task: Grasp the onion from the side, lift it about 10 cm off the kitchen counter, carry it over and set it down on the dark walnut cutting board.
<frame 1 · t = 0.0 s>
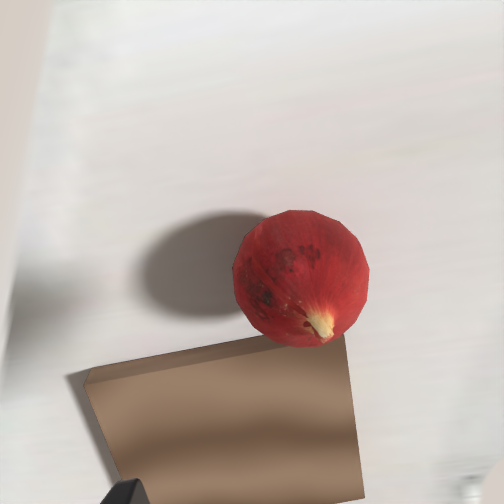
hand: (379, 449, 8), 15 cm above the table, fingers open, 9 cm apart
walnut board: (235, 427, 26), on the table
onion: (288, 246, 22), on the table
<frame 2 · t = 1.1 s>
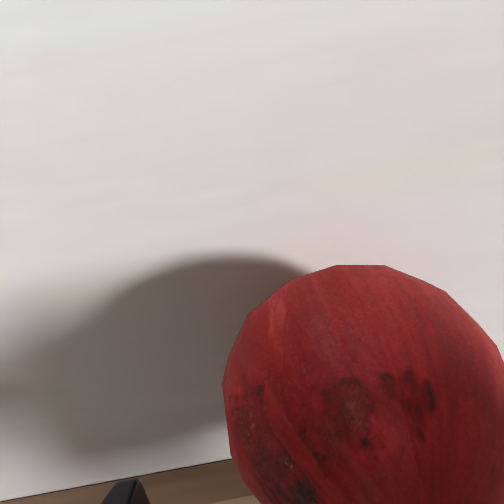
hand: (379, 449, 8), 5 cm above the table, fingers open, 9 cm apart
onion: (321, 311, 13), on the table
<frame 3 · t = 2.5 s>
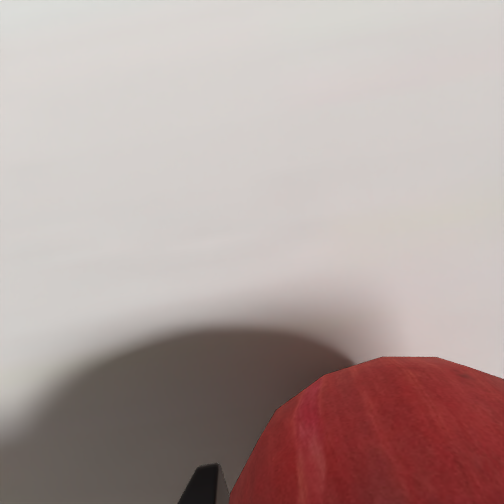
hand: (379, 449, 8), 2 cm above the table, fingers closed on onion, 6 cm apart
onion: (353, 390, 10), on the table, touching gripper
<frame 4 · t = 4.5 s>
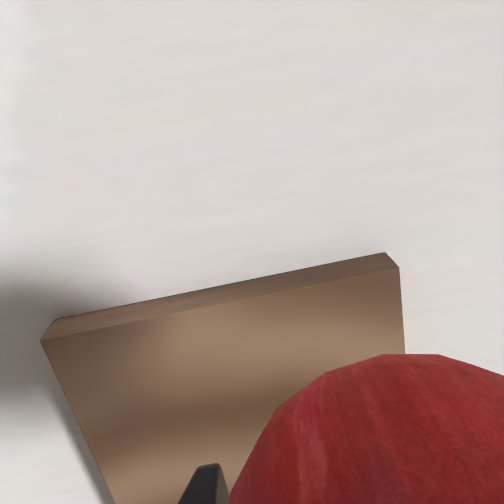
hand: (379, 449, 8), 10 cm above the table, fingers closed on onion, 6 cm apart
walnut board: (247, 398, 20), on the table
onion: (354, 388, 10), point 8 cm above the table, touching gripper
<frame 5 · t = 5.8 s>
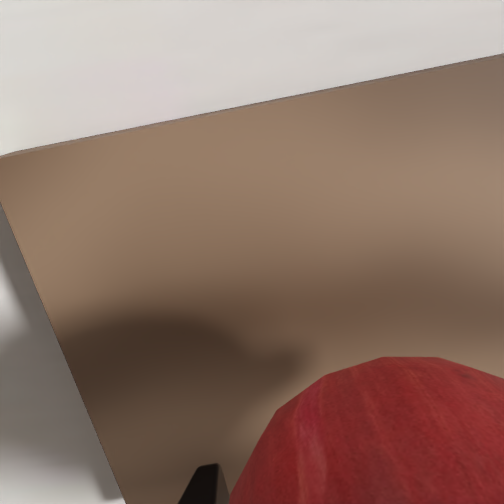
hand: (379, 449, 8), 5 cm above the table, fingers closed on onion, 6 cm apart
walnut board: (319, 305, 13), on the table
onion: (354, 390, 10), point 4 cm above the table, touching gripper
when the fingers open (5 cm above the table, at t = 6.8 s): onion drops 1 cm, resting on walnut board.
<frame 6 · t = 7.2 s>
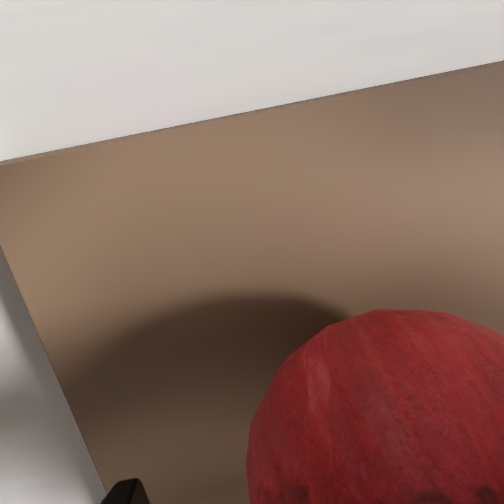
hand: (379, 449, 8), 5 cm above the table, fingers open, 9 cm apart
walnut board: (326, 321, 12), on the table
onion: (353, 351, 11), point 1 cm above the table, touching walnut board
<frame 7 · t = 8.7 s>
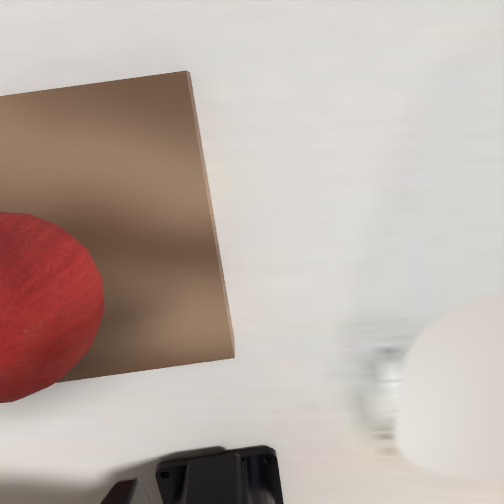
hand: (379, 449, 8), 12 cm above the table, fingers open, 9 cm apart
walnut board: (53, 243, 19), on the table
onion: (53, 257, 17), point 1 cm above the table, touching walnut board
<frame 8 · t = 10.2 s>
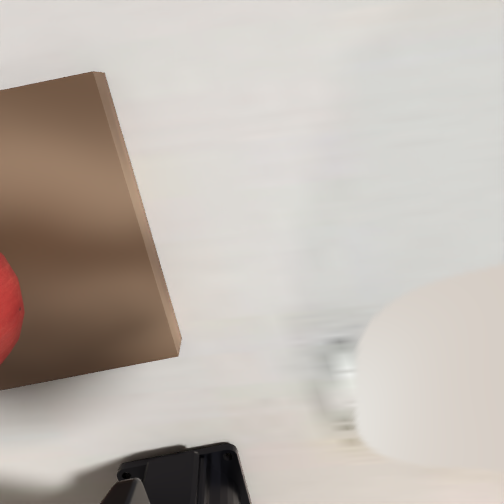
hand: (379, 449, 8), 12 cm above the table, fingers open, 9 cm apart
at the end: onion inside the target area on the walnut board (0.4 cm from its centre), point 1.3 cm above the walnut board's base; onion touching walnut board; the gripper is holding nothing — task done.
